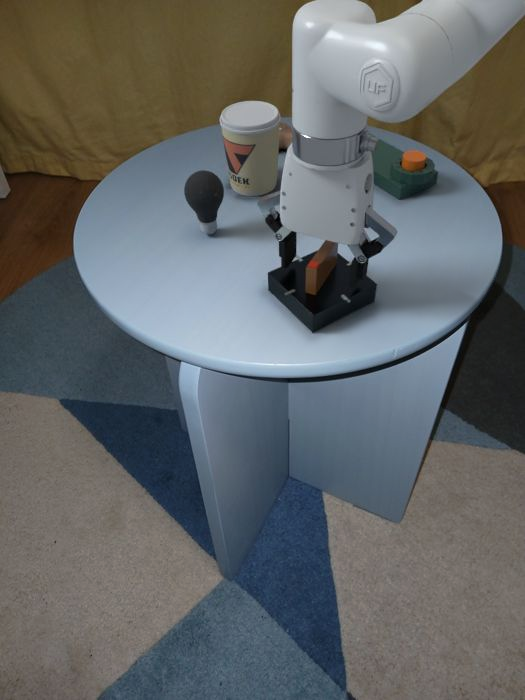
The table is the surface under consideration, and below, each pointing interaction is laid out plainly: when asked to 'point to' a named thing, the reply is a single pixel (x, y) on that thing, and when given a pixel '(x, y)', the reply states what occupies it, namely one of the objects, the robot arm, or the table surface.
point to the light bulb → (205, 198)
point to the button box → (399, 172)
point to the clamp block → (320, 292)
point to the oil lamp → (285, 136)
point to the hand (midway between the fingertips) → (321, 271)
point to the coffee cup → (251, 146)
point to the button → (413, 160)
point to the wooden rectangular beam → (321, 266)
